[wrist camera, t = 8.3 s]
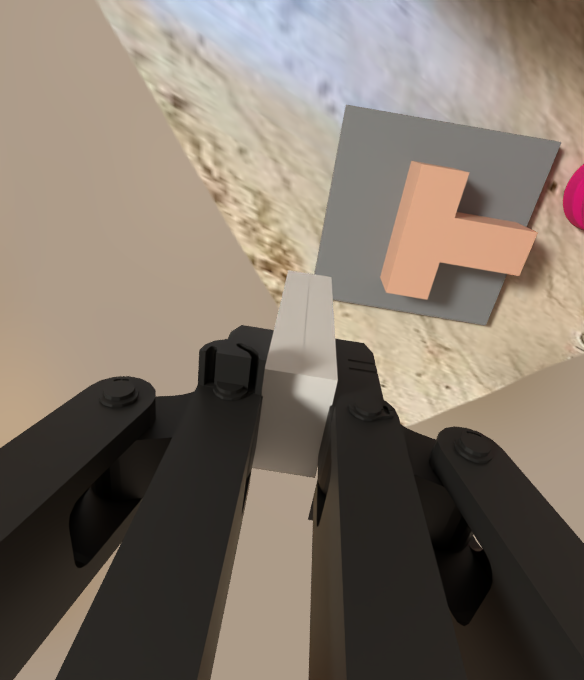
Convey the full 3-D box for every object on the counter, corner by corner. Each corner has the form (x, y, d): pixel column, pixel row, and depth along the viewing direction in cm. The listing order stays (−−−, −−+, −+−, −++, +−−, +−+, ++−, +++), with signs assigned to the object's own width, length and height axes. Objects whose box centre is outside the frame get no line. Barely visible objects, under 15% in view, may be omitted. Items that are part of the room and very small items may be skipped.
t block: (411, 160, 33) (422, 164, 30) (532, 181, 33) (557, 188, 30) (380, 277, 38) (386, 292, 34) (486, 295, 38) (503, 312, 34)
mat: (345, 105, 33) (346, 104, 32) (553, 141, 33) (561, 142, 32) (311, 291, 40) (310, 296, 39) (481, 320, 40) (485, 325, 39)
